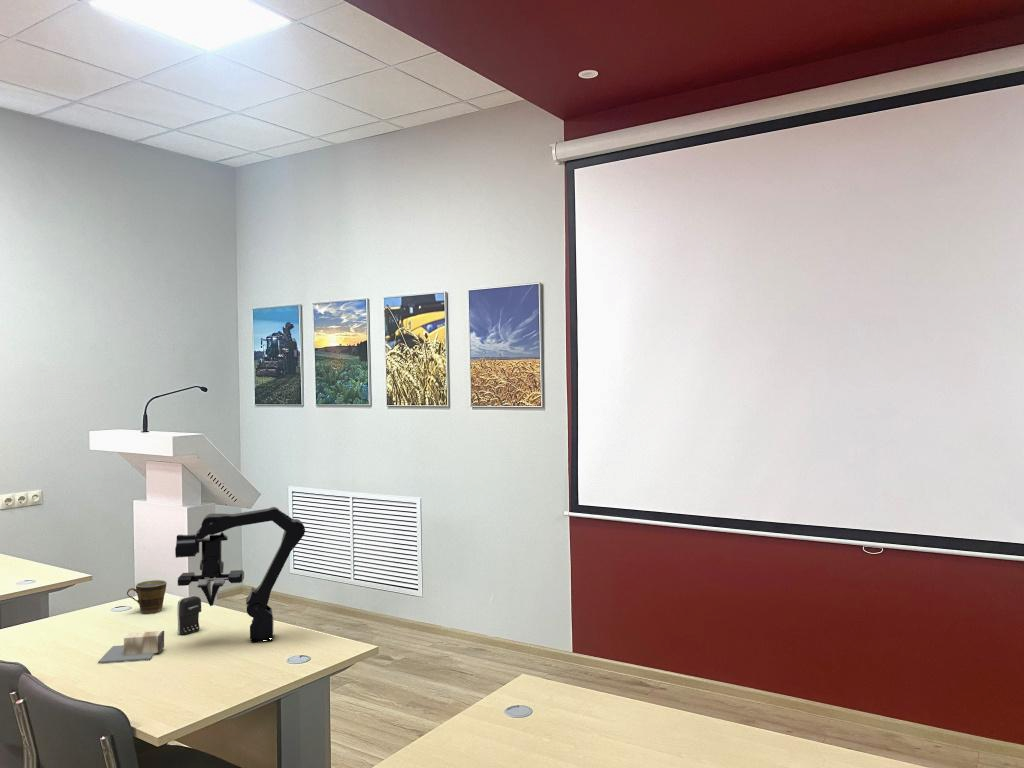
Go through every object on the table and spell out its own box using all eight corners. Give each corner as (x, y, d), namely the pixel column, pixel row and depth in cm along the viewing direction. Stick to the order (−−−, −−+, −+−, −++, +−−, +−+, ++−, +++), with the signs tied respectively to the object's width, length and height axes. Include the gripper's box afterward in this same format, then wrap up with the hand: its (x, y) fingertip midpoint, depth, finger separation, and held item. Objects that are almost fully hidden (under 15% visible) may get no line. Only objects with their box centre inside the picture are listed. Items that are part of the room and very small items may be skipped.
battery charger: (183, 636, 244) (183, 600, 244) (176, 634, 246) (176, 599, 246) (203, 630, 250) (203, 595, 250) (195, 628, 252) (196, 594, 252)
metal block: (164, 630, 232) (128, 632, 230) (160, 635, 227) (123, 638, 225) (164, 647, 232) (128, 649, 230) (160, 652, 227) (123, 655, 225)
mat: (161, 644, 236) (161, 642, 236) (150, 660, 222) (150, 658, 222) (112, 647, 233) (112, 645, 233) (97, 663, 219) (97, 661, 219)
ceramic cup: (161, 606, 279) (162, 578, 279) (170, 612, 271) (170, 583, 272) (123, 612, 271) (123, 584, 271) (130, 619, 263) (130, 590, 263)
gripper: (246, 548, 246) (246, 597, 246) (185, 551, 242) (184, 600, 242) (241, 555, 235) (241, 606, 235) (177, 558, 231) (177, 610, 231)
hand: (211, 605), depth 236 cm, fingers closed
